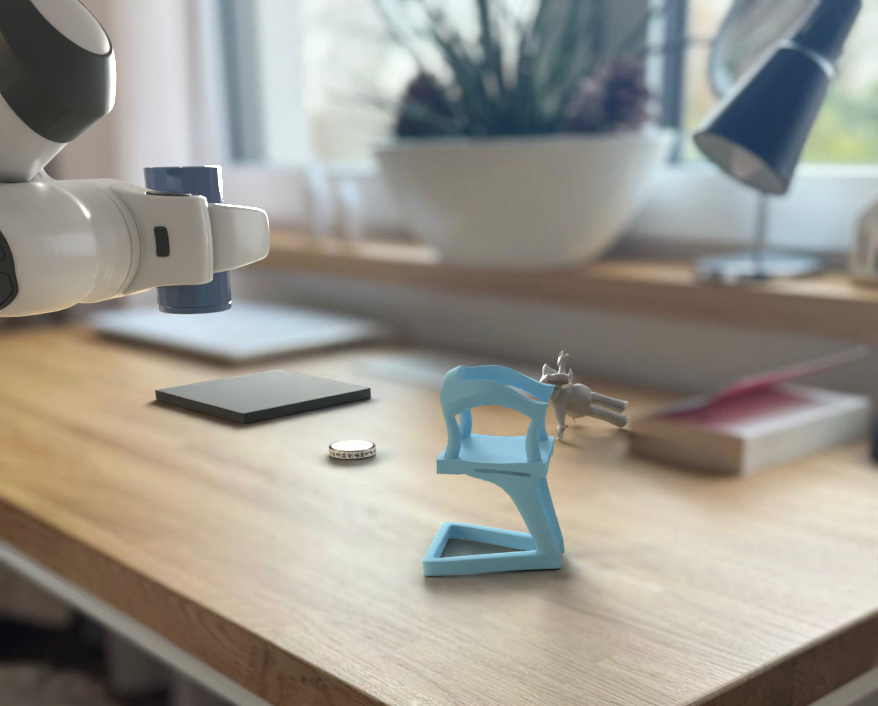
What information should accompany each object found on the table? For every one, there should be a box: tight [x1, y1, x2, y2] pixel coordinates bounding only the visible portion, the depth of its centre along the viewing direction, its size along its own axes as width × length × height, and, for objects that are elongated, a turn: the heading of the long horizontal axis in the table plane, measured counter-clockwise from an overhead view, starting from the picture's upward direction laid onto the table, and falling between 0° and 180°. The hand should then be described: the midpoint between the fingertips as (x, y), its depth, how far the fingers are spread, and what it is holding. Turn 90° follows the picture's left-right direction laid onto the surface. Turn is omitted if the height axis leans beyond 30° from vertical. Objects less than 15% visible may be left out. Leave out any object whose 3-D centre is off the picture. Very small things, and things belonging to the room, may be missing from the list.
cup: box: [142, 165, 233, 315], centre depth 95 cm, size 6×6×12 cm
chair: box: [422, 364, 566, 577], centre depth 66 cm, size 8×8×12 cm
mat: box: [154, 368, 372, 424], centre depth 113 cm, size 16×16×1 cm
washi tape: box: [328, 439, 377, 460], centre depth 92 cm, size 4×4×1 cm
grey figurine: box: [538, 350, 630, 441], centre depth 98 cm, size 10×6×9 cm
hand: (193, 227), depth 96 cm, fingers closed on cup, 6 cm apart
